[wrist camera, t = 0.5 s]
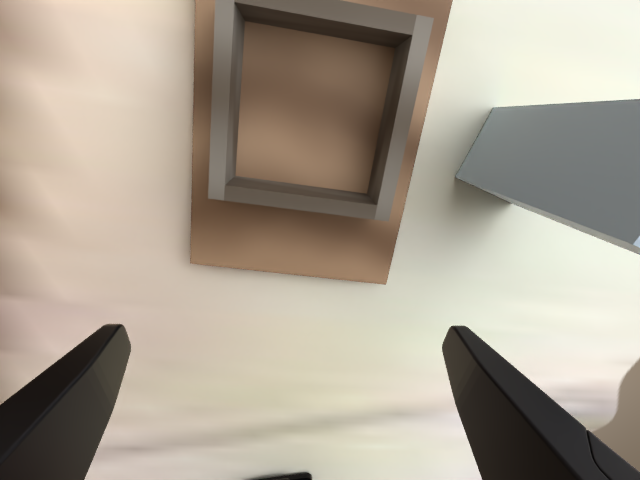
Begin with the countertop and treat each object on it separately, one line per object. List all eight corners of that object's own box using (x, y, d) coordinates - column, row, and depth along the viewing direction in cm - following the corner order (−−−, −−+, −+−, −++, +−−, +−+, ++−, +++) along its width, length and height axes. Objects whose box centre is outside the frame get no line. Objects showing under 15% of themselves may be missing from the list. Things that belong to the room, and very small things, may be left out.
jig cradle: (381, 276, 24) (397, 307, 20) (195, 256, 23) (173, 285, 19) (460, -69, 18) (507, -123, 14) (205, -125, 16) (174, -203, 12)
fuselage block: (512, 203, 23) (737, 294, 11) (454, 177, 22) (632, 244, 10) (553, 138, 21) (858, 162, 10) (493, 107, 21) (749, 92, 9)
